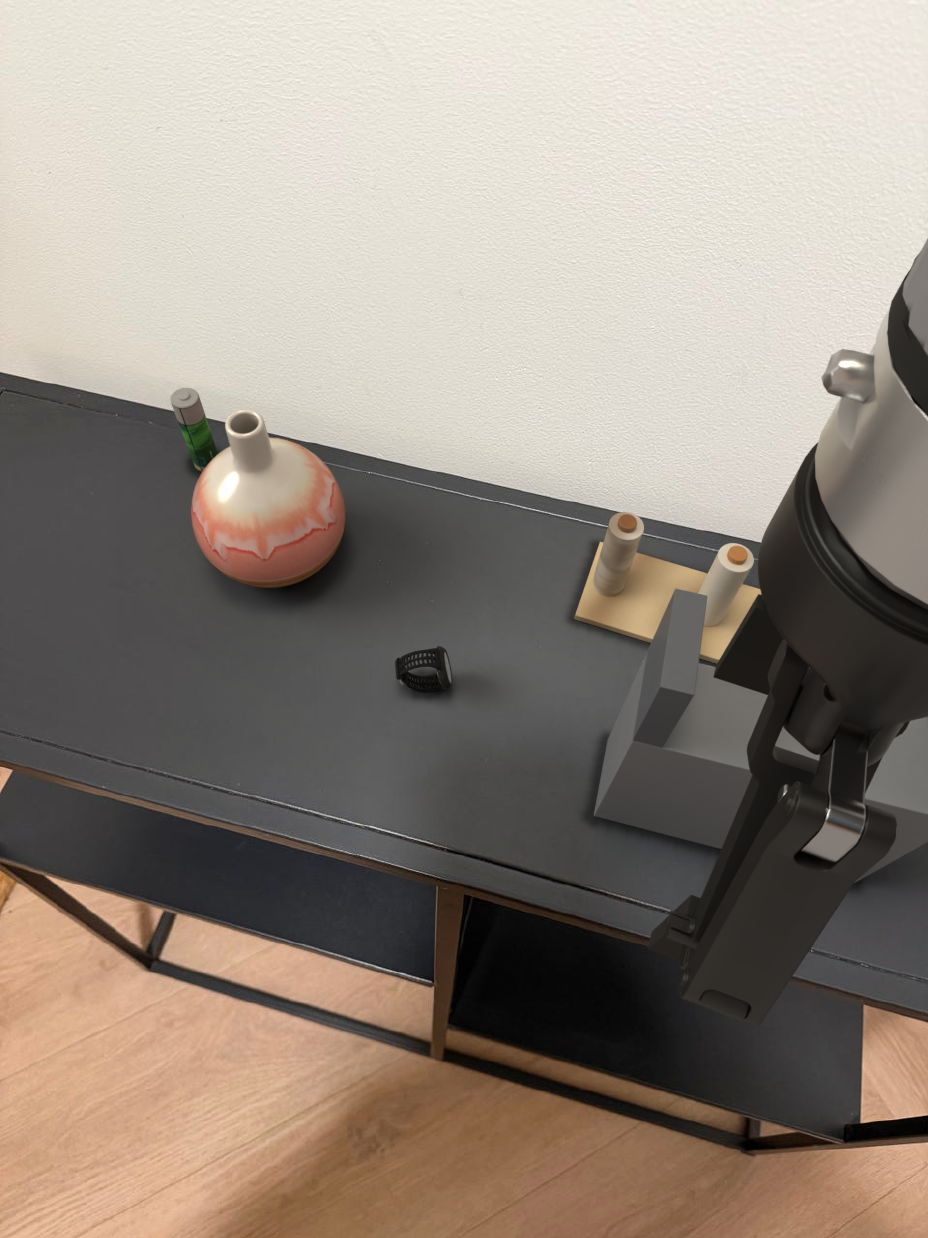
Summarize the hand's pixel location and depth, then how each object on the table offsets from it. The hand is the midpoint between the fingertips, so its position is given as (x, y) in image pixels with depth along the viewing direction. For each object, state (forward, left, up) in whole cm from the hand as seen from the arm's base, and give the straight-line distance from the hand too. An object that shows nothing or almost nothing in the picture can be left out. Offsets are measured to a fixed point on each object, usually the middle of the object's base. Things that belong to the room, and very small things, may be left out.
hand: (713, 804), depth 38 cm
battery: (+59, -8, -30) cm, 66 cm away
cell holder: (+11, -29, -30) cm, 43 cm away
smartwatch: (+25, -6, -30) cm, 39 cm away
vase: (+45, -6, -30) cm, 54 cm away
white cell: (+11, -29, -29) cm, 42 cm away
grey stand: (-1, -15, -30) cm, 33 cm away
